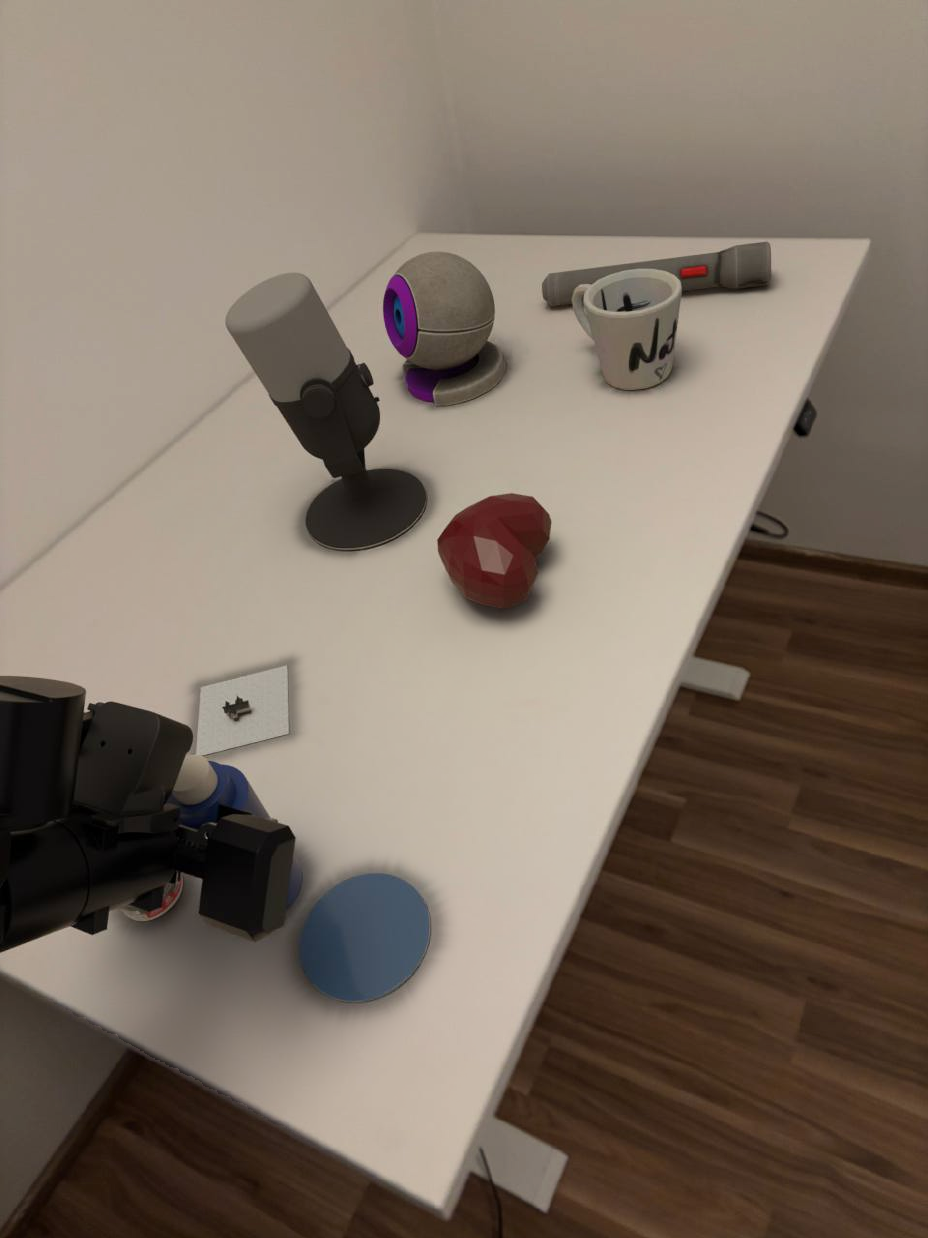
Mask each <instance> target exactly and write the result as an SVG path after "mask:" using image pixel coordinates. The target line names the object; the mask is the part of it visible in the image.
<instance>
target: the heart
mask: <svg viewBox="0 0 928 1238" xmlns="http://www.w3.org/2000/svg"><path fill="white" fill-rule="evenodd" d="M551 530H552V518H551V515H550V513H549V512H548V511H547V510H546V509H545V507H543V506H542V504H541V503H540V502H539V501H538V500H537V499H536V498H535V497H534V496H531V495H526V494H519V493H514V492H511V493H501V494H497V495H490V496H487V497H485V498H483V499H481V500H479V501H477V502H475V503H473V504H471V505H469V506H467V507H465V508H464V509H462V510H461V511H459V512H458V513H456V514H455V515H454V516H453V517H452V519H451V520H450V521H449V522H448V524H447V525H446V527H445V528H444V529H443V531H442V532H441V534H440V535H439V536H438V538H437V552H438V556H439V558H440V561H441V562H442V564H443V567H444V569H445V571H446V573H447V575H448V578H449V579H450V581H451V583H452V584H453V586H455V588H456V589H457V590H458V592H459V593H460V594H461V595H462V596H463V598H464V599H468V600H470V601H473V602H475V603H478V604H480V605H483V606H486V607H491V608H498V609H505V610H506V609H508V608H511V607H514V606H517V605H519V604H523V603H524V602H525V601H526V600H527V599H528V597H529V595H530V593H531V590H532V588H533V586H534V584H535V581H536V579H537V577H538V575H539V570H538V567H537V563H536V559H537V558H538V557H539V556H540V555H542V554H543V552H544V551H545V548H546V547H547V545H548V543H549V541H550V539H551Z"/></svg>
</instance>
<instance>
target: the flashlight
mask: <svg viewBox="0 0 928 1238" xmlns="http://www.w3.org/2000/svg"><path fill="white" fill-rule="evenodd" d="M633 269H656V270H662V271H666V272H669V273H671V274H673V275H675V276H676V277H677V278H678V279H679V280H680V282H681V287H682V292H684V291H692V290H693V291H694V290H700V289H710V288H718V287H720V288H727V289H728V288H729V289H736V290H737V289H745V288H746V289H747V288H754V287H762V286H763V287H765V286H768V285H769V284H770V283H771V279H772V247H771V243H770V242H769V241H760V242H751V243H743V244H737V245H733V246H730V247H728V248H725V249H723V250H720V251H716V252H715V251H714V252H709V253H708V252H707V253H700V254H693V255H684V256H676V257H669V258H661V259H653V260H645V261H638V262H629V263H622V264H614V265H606V266H597V267H590V268H582V269H573V270H567V271H559V272H550V273H548V274H547V275H546V276H545V278H544V279H543V281H542V282H541V294H542V295H541V296H542V298H543V300H544V301H545V302H546V303H547V304H549V306H551V307H554V306H555V307H557V306H563V305H564V306H565V305H572V297H573V293H574V290H575V288H577V287H578V286H579V285H581V284H590V285H592V284H593V283H595V282H596V281H597V280H599V279H602V278H604V277H606V276H608V275H611V274H614V273H618V272H621V271H626V270H633ZM581 300H582V303H583V302H584V294H583V295H582V299H581Z"/></svg>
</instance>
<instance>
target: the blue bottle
mask: <svg viewBox="0 0 928 1238" xmlns="http://www.w3.org/2000/svg"><path fill="white" fill-rule="evenodd" d="M168 803H170V804H173V805H176V806H179V807H181V811H180V819H179V824H181V825H184V826H188V827H191V828H194V829H197V830H199V828H200V826H201V825H203V824H205V823H208V822H213V823H216V822H217V814H218V806H219V804H222V805H225V806H229V807H232V808H235V809H239V810H242V811H246V812H249V813H252V814H253V815H255V816H258V817H261V818H264V819H268V818H271V816H270V814H269V813H268V811H267V810H266V808H265V806H264V804H263V803H262V801H261V800H260V798H259V796H258V794H257V793H256V792H255V790H254V789H253V787H252V785H251V783H250V782H249V780H248V778H247V777H246V776H245V774H244V773H243V772H242V771H241V770H240V769H238V768H237V767H235V766H232V765H230V764H221V763H219V762H217V761H214V760H208V759H207V758H206V757H204V755H203V756H200V755H196V754H189V755H186V756H185V759H184V761H183V764H182V767H181V770H180V772H179V775H178V778H177V781H176V784H175V786H174V789H173V792H172V794H171V796H170V797H169V799H168V800H167V801H166V804H168ZM302 882H303V870H302V867H301V865H300V862H298V860H297V858H296V856H295V854H294V855H293V863H292V871H291V878H290V886H289V893H288V901H287V908H286V910H287V909H289V907H291V905H292V904H293V902H294V901H296V898H297V897H298V895H299V893H300V890H301V887H302V884H303V883H302Z"/></svg>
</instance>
